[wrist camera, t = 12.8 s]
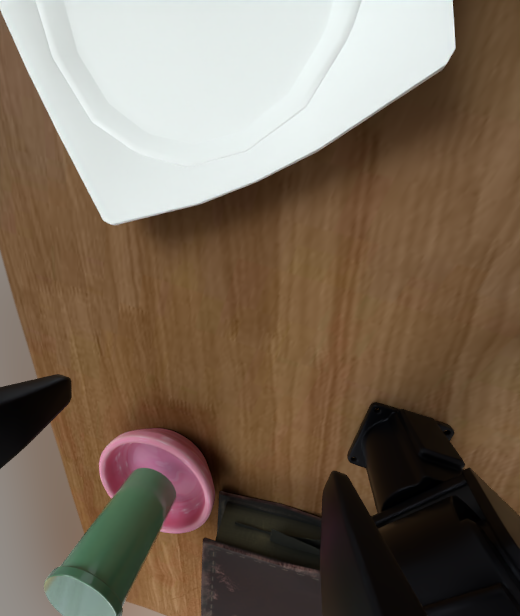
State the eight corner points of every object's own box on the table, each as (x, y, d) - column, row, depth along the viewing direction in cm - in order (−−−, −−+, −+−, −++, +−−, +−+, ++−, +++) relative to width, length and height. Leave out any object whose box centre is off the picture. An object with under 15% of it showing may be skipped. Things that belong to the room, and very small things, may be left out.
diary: (421, 655, 28) (445, 741, 23) (215, 587, 32) (199, 649, 27) (478, 548, 22) (524, 631, 18) (221, 482, 26) (201, 536, 21)
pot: (175, 517, 24) (115, 643, 17) (124, 497, 25) (45, 610, 17) (182, 478, 23) (119, 598, 15) (128, 457, 23) (41, 563, 16)
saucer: (165, 515, 29) (149, 546, 26) (99, 439, 28) (74, 463, 25) (245, 486, 26) (236, 518, 23) (173, 396, 24) (154, 418, 21)
